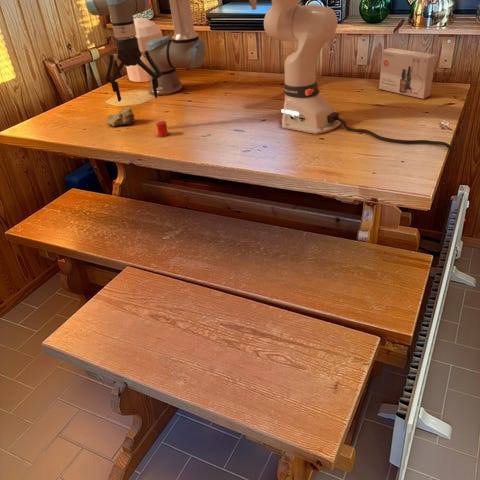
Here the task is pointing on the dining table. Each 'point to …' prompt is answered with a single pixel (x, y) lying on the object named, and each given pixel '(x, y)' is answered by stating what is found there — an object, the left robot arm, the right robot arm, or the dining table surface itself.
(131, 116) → the rock
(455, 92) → the dining table surface
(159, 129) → the can
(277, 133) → the dining table surface
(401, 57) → the skincare box
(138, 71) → the container
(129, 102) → the dining table surface
